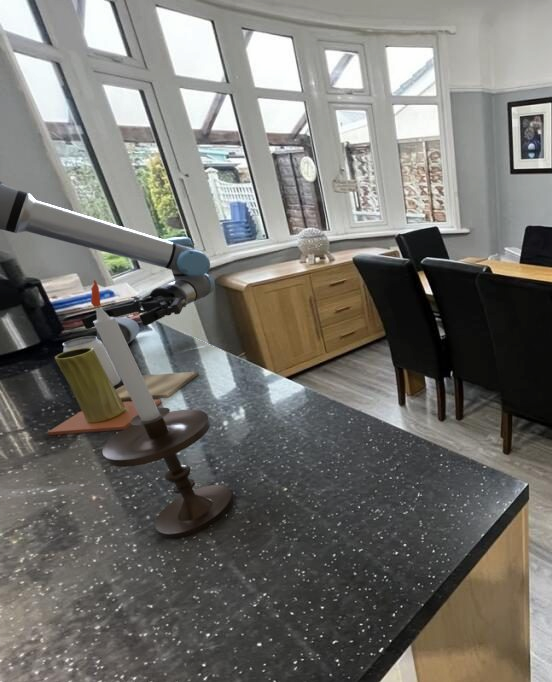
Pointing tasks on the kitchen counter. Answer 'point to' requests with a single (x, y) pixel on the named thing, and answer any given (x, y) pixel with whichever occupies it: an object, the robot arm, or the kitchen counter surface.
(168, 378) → the birch mat
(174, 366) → the kitchen counter surface
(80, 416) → the terracotta mat
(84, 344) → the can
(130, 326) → the ceramic mug
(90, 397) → the vase
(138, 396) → the candlestick
